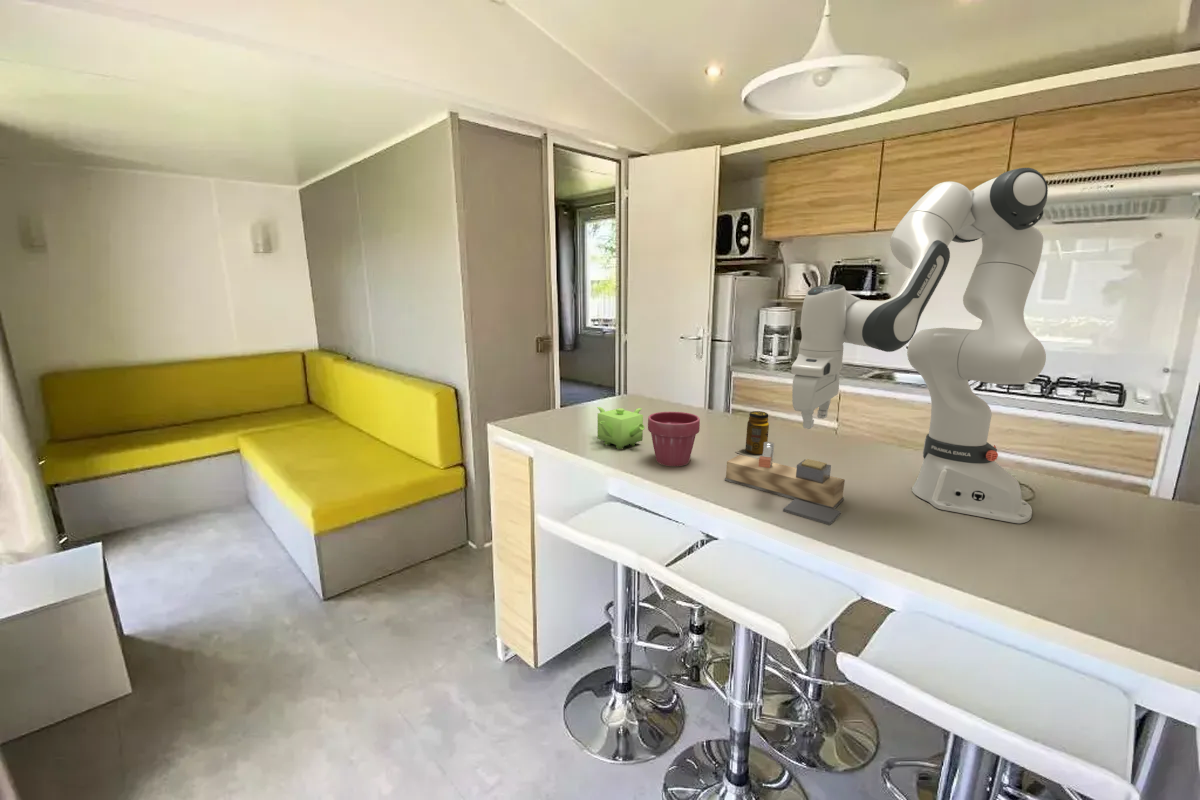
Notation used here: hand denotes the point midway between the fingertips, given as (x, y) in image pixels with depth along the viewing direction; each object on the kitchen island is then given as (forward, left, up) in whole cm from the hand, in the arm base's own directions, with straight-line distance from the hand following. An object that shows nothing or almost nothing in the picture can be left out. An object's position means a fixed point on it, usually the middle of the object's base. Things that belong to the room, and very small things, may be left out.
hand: (815, 422), depth 116 cm
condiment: (+24, -23, -19) cm, 38 cm away
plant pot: (+38, -1, -19) cm, 42 cm away
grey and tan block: (0, -2, -13) cm, 14 cm away
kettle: (+59, -4, -19) cm, 62 cm away
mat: (-3, +6, -18) cm, 20 cm away
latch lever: (+9, +4, -13) cm, 16 cm away
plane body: (+7, -2, -18) cm, 20 cm away
